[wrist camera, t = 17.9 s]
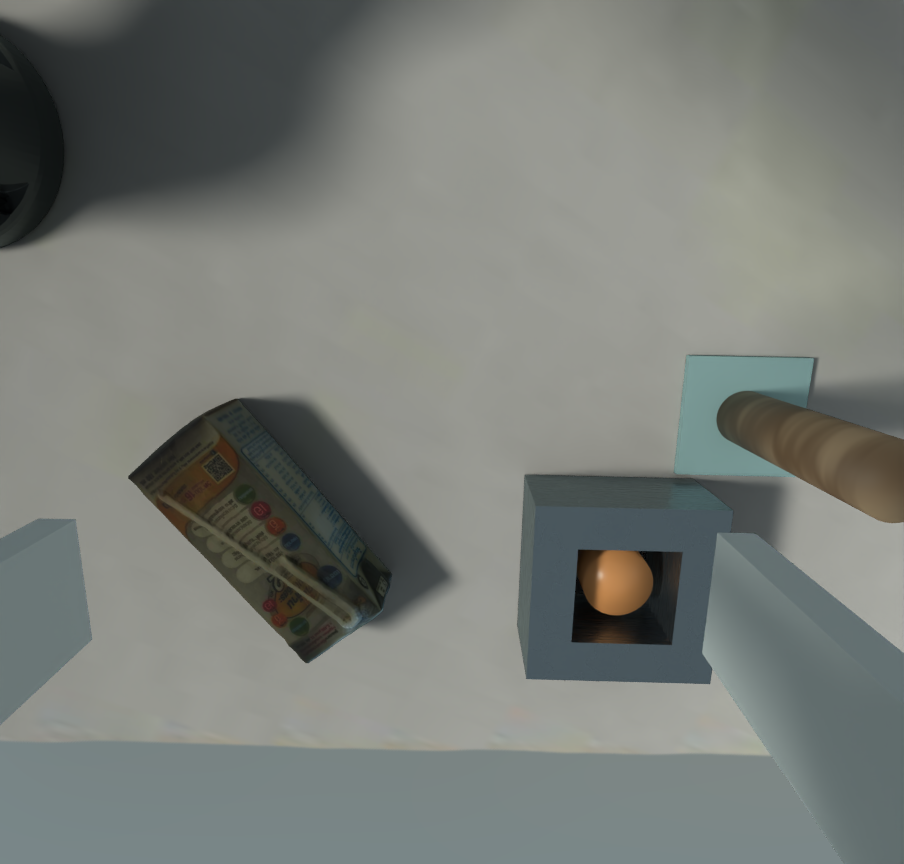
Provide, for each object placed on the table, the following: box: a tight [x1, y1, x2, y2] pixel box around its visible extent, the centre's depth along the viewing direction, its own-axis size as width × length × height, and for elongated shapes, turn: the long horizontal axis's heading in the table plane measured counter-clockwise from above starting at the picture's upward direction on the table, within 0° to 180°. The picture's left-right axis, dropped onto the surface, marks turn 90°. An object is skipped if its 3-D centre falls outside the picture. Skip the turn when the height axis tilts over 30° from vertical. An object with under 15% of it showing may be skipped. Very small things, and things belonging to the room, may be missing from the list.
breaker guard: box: [517, 475, 733, 684], centre depth 43 cm, size 13×13×7 cm
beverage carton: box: [128, 399, 392, 663], centre depth 44 cm, size 8×19×7 cm, turn 38°
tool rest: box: [674, 355, 814, 477], centre depth 44 cm, size 9×9×1 cm
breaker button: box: [576, 549, 653, 615], centre depth 44 cm, size 5×5×5 cm
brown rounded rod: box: [716, 391, 904, 523], centre depth 36 cm, size 4×4×16 cm
